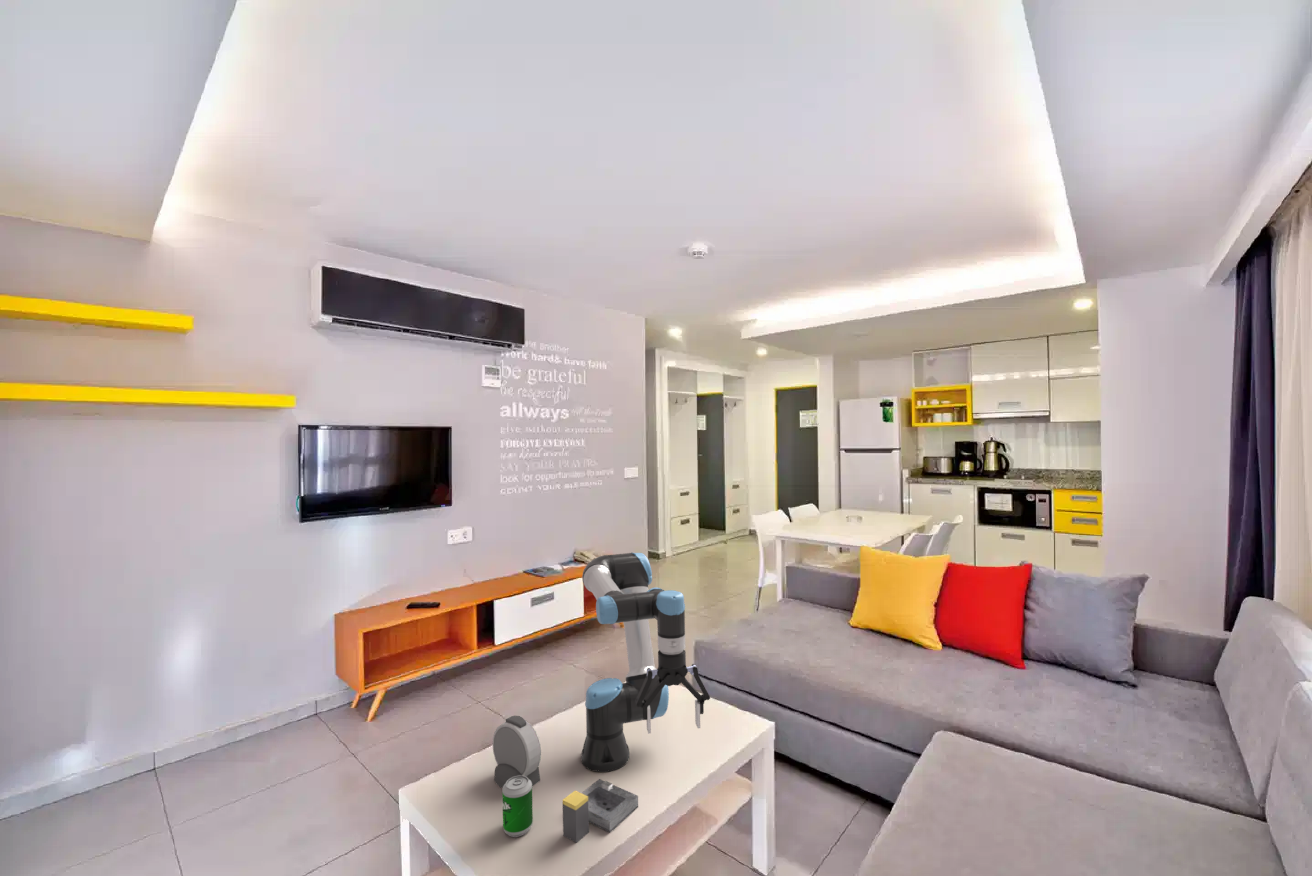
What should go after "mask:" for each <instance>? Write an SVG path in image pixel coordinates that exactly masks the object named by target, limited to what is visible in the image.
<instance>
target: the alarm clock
mask: <svg viewBox="0 0 1312 876" xmlns="http://www.w3.org/2000/svg"><path fill="white" fill-rule="evenodd" d="M539 738H540V737H539V736H538V734H537V731H536V730H535V727H533V725H532V724H531V723H530V722H528V721H527V720H526V719H525V718H523V717H522V716H520V715H512V716H509V717H508V718H506V719H505V722H503V723H502V724H501V723H500V725H498V726H497V727H496V729H495V730H494V734H493V737H492V751H493V752H492V753H493V757H494V760H495V762H496V766H495V768H494V775H493V776H494V777H493V778H494V779H493V781H494V782H495V784H496V785H497V786H498V787H499V788H501V789H503V786H504V784H505V783H506V782H507V780H509V779H510V778H512V777H514V776H519V775H520V776H526V777H527V778H528V779H529V780H531V782H532V787H534V786H535V785H536V784H538V783H539V782H541V777H540V763H541V759H542V758H541V757H542V749H541V742H540V739H539Z"/></svg>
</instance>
